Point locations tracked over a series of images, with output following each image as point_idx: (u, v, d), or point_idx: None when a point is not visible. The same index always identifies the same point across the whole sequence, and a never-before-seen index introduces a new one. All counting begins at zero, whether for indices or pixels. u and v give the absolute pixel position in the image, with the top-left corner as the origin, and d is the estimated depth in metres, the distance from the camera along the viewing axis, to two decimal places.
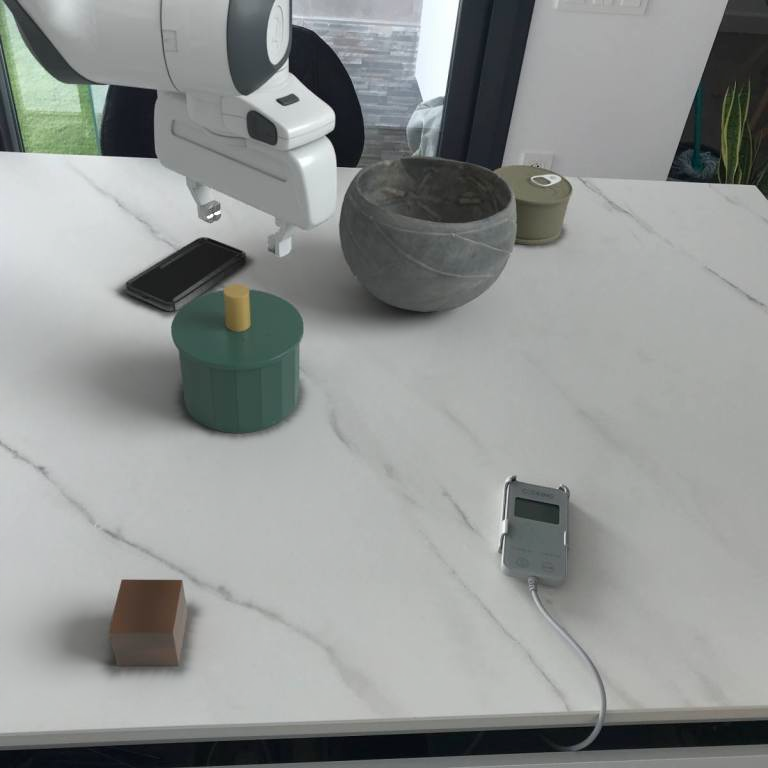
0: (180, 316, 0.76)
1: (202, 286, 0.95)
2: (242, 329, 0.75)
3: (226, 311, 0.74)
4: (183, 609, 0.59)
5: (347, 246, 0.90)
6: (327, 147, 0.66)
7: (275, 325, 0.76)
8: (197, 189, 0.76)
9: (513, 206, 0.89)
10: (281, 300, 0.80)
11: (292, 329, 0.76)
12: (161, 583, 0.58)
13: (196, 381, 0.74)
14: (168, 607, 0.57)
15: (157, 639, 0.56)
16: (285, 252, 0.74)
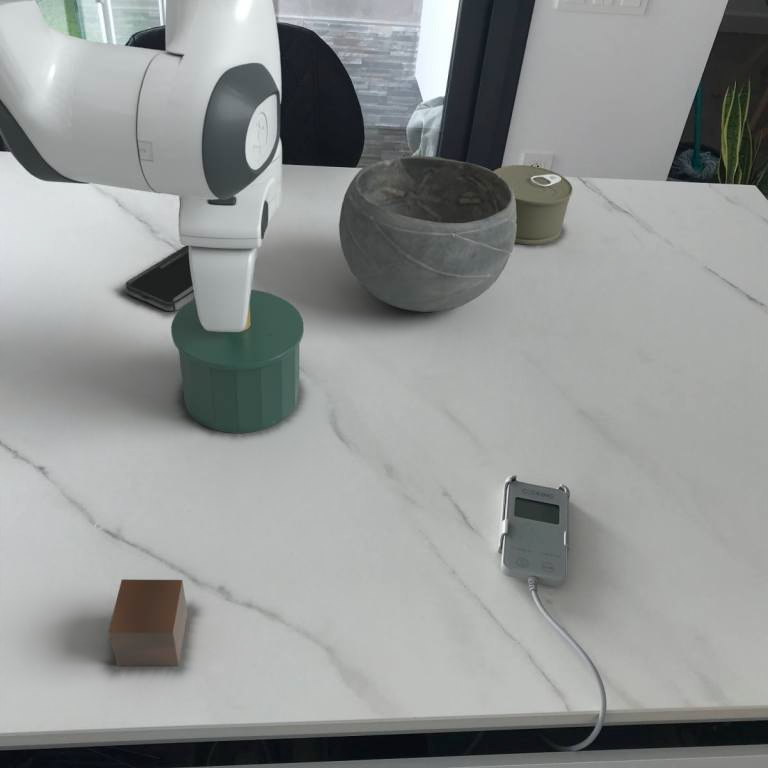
0: (180, 316, 0.76)
1: None
2: None
3: None
4: (183, 609, 0.59)
5: (347, 246, 0.90)
6: (240, 261, 0.61)
7: (275, 325, 0.77)
8: None
9: (513, 206, 0.89)
10: (281, 300, 0.80)
11: (292, 328, 0.76)
12: (161, 583, 0.58)
13: (196, 381, 0.74)
14: (168, 607, 0.57)
15: (157, 639, 0.56)
16: None
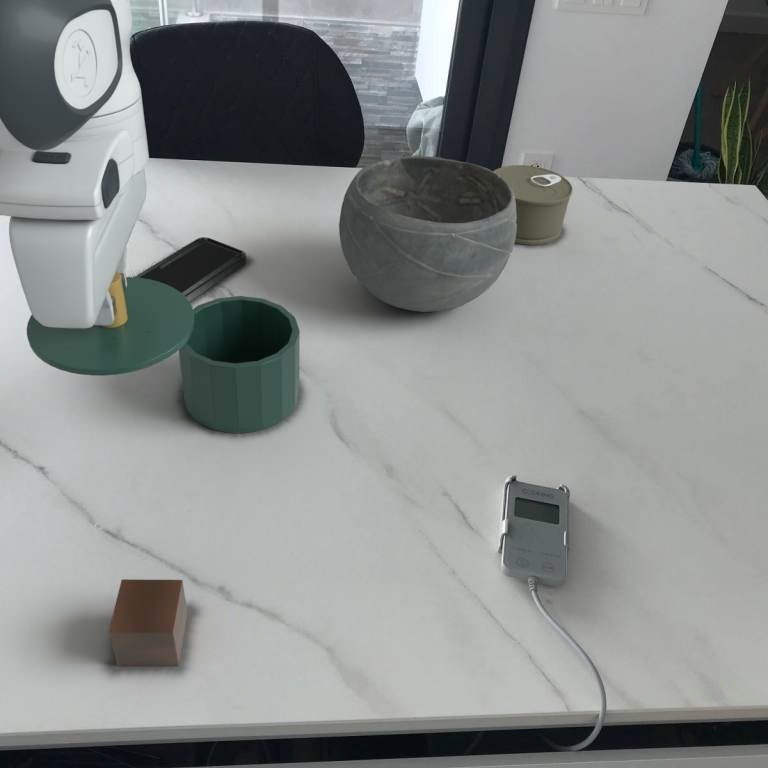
0: None
1: (202, 286, 0.95)
2: (115, 325, 0.61)
3: None
4: (183, 609, 0.59)
5: (347, 246, 0.90)
6: (75, 236, 0.47)
7: (158, 320, 0.63)
8: None
9: (513, 206, 0.89)
10: (172, 290, 0.66)
11: (178, 324, 0.62)
12: (161, 583, 0.58)
13: (196, 381, 0.74)
14: (168, 607, 0.57)
15: (157, 639, 0.56)
16: (102, 322, 0.59)
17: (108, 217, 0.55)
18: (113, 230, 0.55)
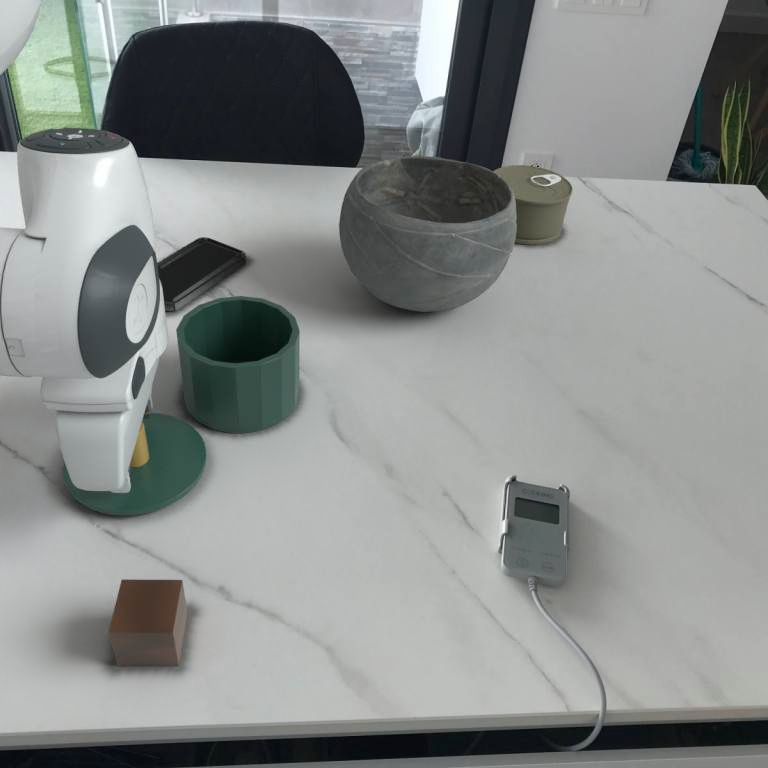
0: None
1: (202, 286, 0.95)
2: (139, 465, 0.71)
3: None
4: (183, 609, 0.59)
5: (347, 246, 0.90)
6: (109, 425, 0.57)
7: (175, 458, 0.73)
8: None
9: (513, 206, 0.89)
10: (186, 426, 0.76)
11: (193, 462, 0.72)
12: (161, 583, 0.58)
13: (196, 381, 0.74)
14: (168, 607, 0.57)
15: (157, 639, 0.56)
16: (120, 490, 0.67)
17: None
18: (137, 398, 0.65)
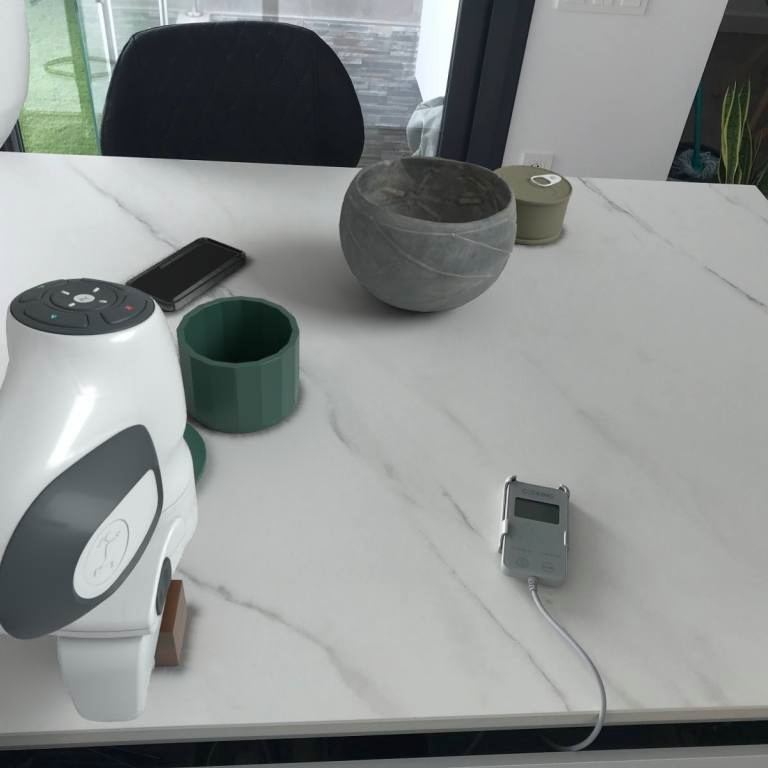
0: None
1: (202, 286, 0.95)
2: None
3: None
4: (183, 609, 0.59)
5: (347, 246, 0.90)
6: (127, 652, 0.44)
7: None
8: None
9: (513, 206, 0.89)
10: (186, 426, 0.76)
11: (193, 462, 0.72)
12: None
13: (196, 381, 0.74)
14: (168, 607, 0.57)
15: None
16: None
17: None
18: None
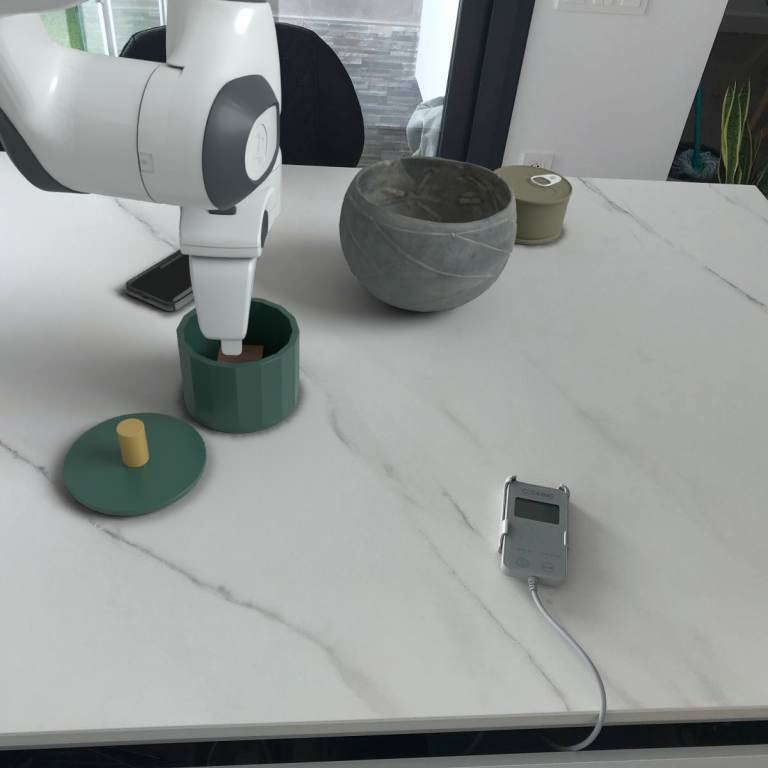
0: (75, 449, 0.72)
1: None
2: (139, 465, 0.71)
3: (120, 448, 0.70)
4: None
5: (347, 246, 0.90)
6: (240, 270, 0.62)
7: (175, 458, 0.73)
8: None
9: (513, 206, 0.89)
10: (186, 426, 0.76)
11: (193, 462, 0.72)
12: (249, 347, 0.80)
13: (196, 381, 0.74)
14: (255, 359, 0.79)
15: None
16: (232, 352, 0.71)
17: None
18: None
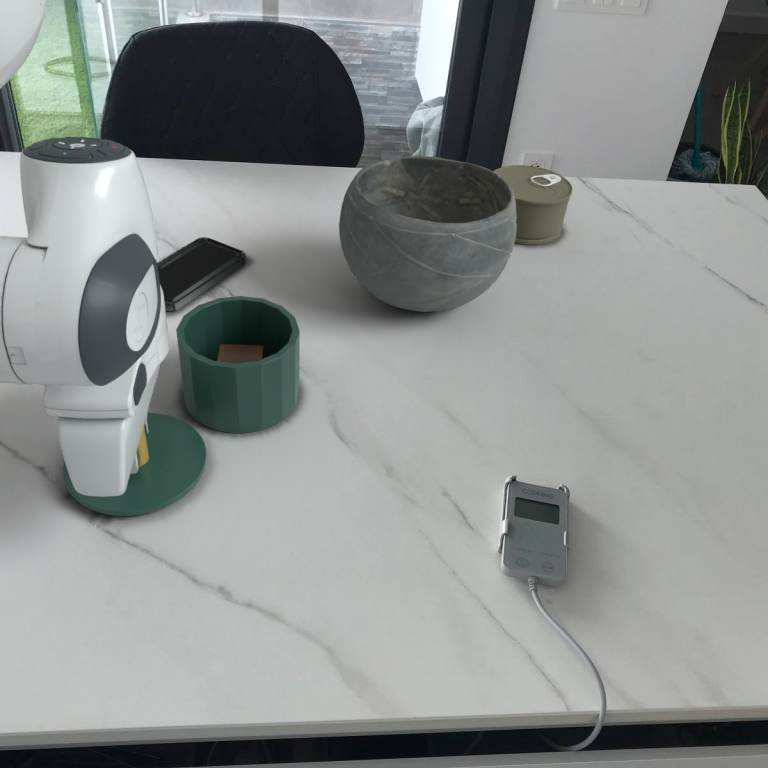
0: None
1: (202, 286, 0.95)
2: (139, 465, 0.71)
3: None
4: None
5: (347, 246, 0.90)
6: (111, 431, 0.58)
7: (175, 458, 0.73)
8: None
9: (513, 206, 0.89)
10: (186, 426, 0.76)
11: (193, 462, 0.72)
12: (249, 347, 0.80)
13: (196, 381, 0.74)
14: (255, 359, 0.79)
15: None
16: None
17: None
18: (139, 403, 0.65)
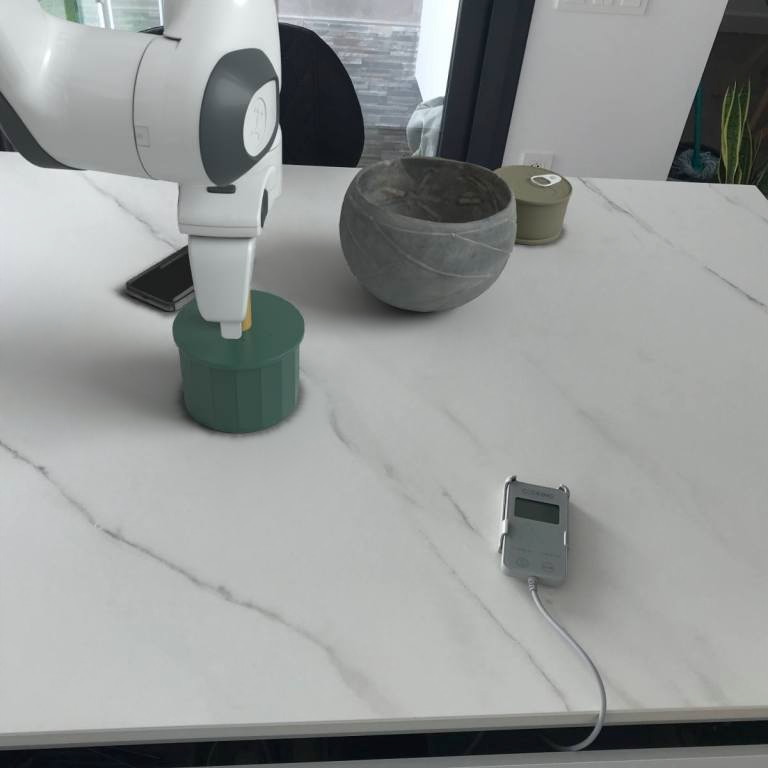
0: (181, 316, 0.76)
1: None
2: (243, 329, 0.75)
3: None
4: None
5: (347, 246, 0.90)
6: (239, 250, 0.61)
7: (276, 325, 0.77)
8: None
9: (513, 206, 0.89)
10: (282, 300, 0.80)
11: (293, 329, 0.76)
12: None
13: (196, 381, 0.74)
14: None
15: None
16: (232, 336, 0.70)
17: None
18: None
